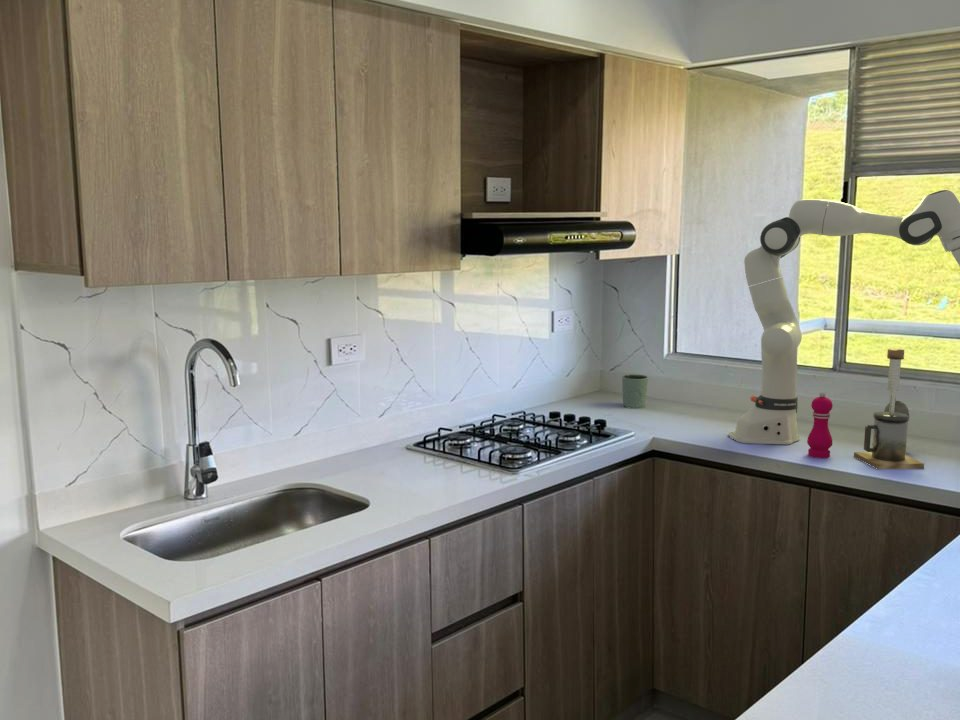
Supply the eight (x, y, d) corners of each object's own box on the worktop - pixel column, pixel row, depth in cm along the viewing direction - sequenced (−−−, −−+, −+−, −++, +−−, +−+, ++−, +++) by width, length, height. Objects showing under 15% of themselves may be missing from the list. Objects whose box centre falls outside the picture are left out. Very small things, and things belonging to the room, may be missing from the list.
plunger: (889, 391, 251) (892, 350, 250) (882, 389, 256) (884, 348, 254) (904, 391, 252) (907, 350, 250) (896, 389, 256) (899, 348, 254)
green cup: (632, 402, 347) (633, 373, 345) (652, 406, 339) (653, 376, 337) (616, 406, 340) (616, 376, 339) (635, 410, 333) (636, 379, 331)
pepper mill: (811, 451, 270) (814, 388, 267) (834, 455, 265) (838, 391, 262) (803, 456, 264) (806, 392, 261) (827, 460, 260) (831, 395, 257)
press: (872, 462, 252) (877, 386, 248) (856, 453, 261) (861, 380, 258) (912, 461, 252) (918, 386, 249) (895, 453, 262) (900, 380, 258)
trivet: (877, 469, 250) (877, 464, 249) (853, 456, 264) (854, 452, 263) (924, 468, 250) (924, 463, 250) (898, 456, 264) (898, 451, 264)
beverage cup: (909, 452, 268) (914, 389, 265) (884, 451, 270) (888, 388, 267) (903, 447, 275) (907, 385, 272) (878, 446, 277) (882, 384, 274)
